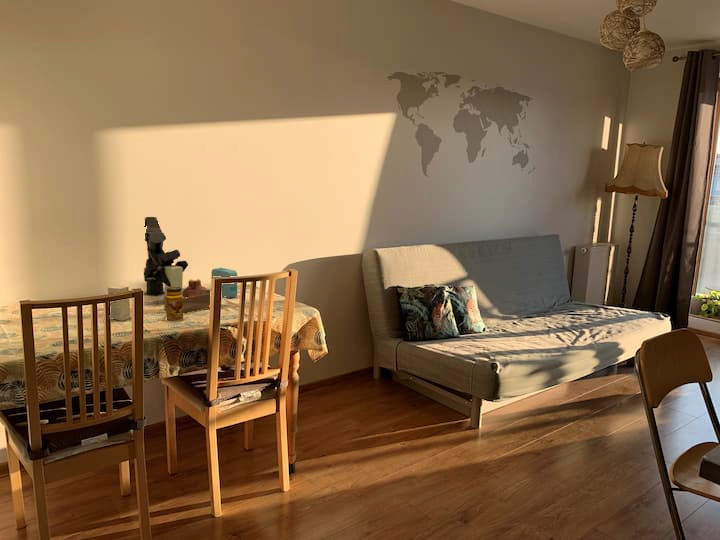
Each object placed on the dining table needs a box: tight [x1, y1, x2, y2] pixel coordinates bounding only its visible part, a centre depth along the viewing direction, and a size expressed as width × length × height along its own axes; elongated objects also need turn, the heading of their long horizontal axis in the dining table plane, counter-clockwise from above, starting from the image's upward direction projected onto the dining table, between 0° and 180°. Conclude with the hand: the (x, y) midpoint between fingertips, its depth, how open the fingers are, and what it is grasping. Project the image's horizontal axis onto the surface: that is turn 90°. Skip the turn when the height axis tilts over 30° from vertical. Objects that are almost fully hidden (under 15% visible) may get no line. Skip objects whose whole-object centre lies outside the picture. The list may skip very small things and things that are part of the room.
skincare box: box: [107, 285, 131, 321], centre depth 218 cm, size 6×4×12 cm
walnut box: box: [163, 288, 211, 314], centre depth 238 cm, size 10×19×6 cm, turn 145°
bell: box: [182, 278, 207, 298], centre depth 261 cm, size 12×12×7 cm
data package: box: [211, 267, 238, 298], centre depth 261 cm, size 12×4×12 cm, turn 54°
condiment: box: [158, 287, 189, 323], centre depth 220 cm, size 7×8×12 cm
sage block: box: [164, 266, 184, 295], centre depth 243 cm, size 5×5×14 cm
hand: (175, 285), depth 243 cm, fingers closed on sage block, 5 cm apart
